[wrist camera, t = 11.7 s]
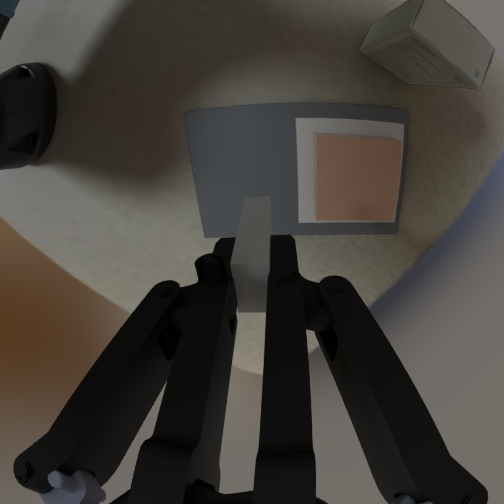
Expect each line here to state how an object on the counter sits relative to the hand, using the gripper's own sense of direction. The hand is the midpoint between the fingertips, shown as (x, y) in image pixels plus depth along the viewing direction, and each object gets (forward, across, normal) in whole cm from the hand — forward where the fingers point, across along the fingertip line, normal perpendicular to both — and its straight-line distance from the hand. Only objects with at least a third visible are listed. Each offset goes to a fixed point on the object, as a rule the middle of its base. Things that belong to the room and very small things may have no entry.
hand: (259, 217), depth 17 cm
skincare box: (+12, +13, +12) cm, 22 cm away
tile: (+10, +5, -1) cm, 11 cm away
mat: (+12, +4, -1) cm, 12 cm away
